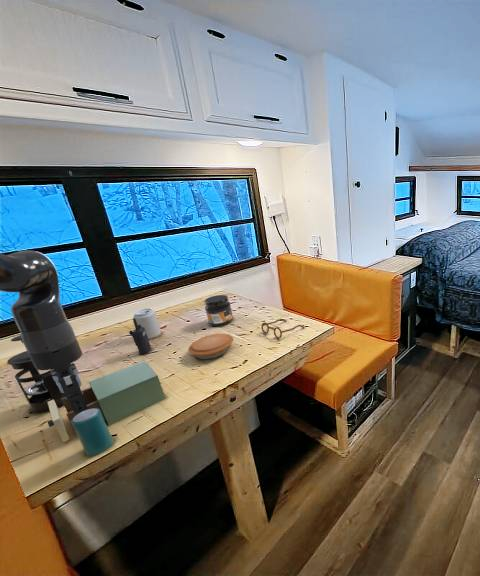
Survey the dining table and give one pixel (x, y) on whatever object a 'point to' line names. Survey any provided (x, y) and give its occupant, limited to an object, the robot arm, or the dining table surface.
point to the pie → (211, 346)
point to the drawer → (70, 412)
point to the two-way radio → (140, 338)
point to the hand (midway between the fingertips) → (78, 403)
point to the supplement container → (218, 310)
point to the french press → (36, 382)
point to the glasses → (277, 328)
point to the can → (148, 322)
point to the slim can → (92, 431)
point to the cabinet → (127, 391)
